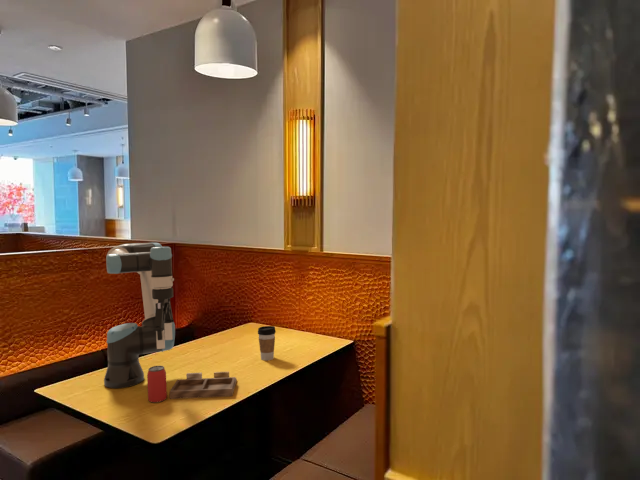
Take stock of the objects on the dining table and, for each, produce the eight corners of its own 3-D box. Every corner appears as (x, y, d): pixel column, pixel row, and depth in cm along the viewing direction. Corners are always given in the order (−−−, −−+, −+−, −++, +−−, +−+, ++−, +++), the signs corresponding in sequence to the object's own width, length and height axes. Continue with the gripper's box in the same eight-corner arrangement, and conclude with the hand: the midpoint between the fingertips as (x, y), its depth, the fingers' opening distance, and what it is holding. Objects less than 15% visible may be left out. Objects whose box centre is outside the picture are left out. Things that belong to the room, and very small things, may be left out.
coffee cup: (273, 361, 206) (272, 329, 205) (255, 360, 208) (255, 329, 207) (278, 356, 215) (277, 325, 214) (261, 355, 216) (261, 324, 215)
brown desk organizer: (170, 398, 167) (169, 388, 167) (179, 383, 182) (179, 373, 182) (232, 396, 169) (231, 385, 168) (236, 380, 184) (236, 371, 184)
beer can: (147, 404, 162) (145, 372, 162) (149, 397, 169) (147, 366, 168) (166, 402, 164) (165, 370, 163) (167, 395, 171) (166, 364, 170)
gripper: (165, 291, 156) (168, 351, 156) (178, 283, 181) (181, 335, 181) (143, 292, 155) (146, 353, 155) (159, 284, 180) (162, 337, 180)
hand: (165, 344), depth 168 cm, fingers open, 13 cm apart
